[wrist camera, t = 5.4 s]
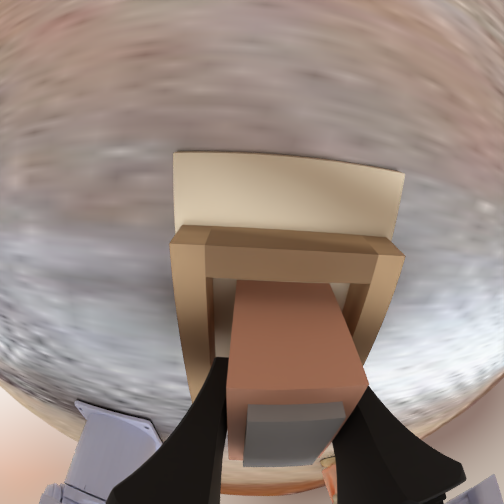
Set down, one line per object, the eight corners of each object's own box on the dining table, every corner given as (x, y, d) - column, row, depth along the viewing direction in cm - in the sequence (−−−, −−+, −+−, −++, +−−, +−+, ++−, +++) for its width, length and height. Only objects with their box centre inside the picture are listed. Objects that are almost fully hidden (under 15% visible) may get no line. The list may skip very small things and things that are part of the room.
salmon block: (305, 371, 14) (320, 468, 9) (234, 370, 14) (227, 470, 8) (329, 283, 11) (374, 399, 6) (236, 279, 11) (224, 405, 6)
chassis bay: (325, 404, 17) (330, 431, 15) (198, 402, 17) (194, 430, 14) (398, 171, 10) (429, 183, 8) (177, 151, 10) (156, 158, 7)
